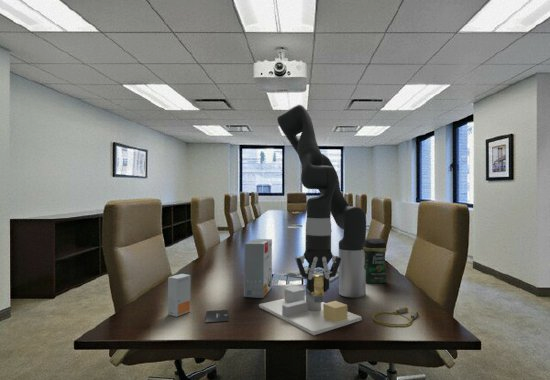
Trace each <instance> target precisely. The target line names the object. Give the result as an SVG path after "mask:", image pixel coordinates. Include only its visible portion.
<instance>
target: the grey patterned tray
mask: <svg viewBox="0 0 550 380" xmlns="http://www.w3.org/2000/svg"><path fill="white" fill-rule="evenodd" d="M303 267H304V270H305V273H307V271H308V266H303ZM328 270H329V271H330V269H328ZM315 274H320V275H323V271H322V268H319V267H318V268H315V271H314V273H313V275H315ZM284 277H288V278H289V277H291V278H295V279H296V278H297V279H303V280H307V278H303V277H302V276H301V274H300V271H299V268H297V269H295V270H293V271H289V272H287V273H284ZM337 279H339V270H337V273H336V276H335V277H331V278H330V279H329V284H330V283H331V282H333V281H335V280H337Z"/></svg>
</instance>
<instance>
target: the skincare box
mask: <svg viewBox="0 0 550 380" xmlns="http://www.w3.org/2000/svg"><path fill="white" fill-rule="evenodd" d="M191 280H192V277H191V274H186V273H179V274H175V275H173V276H169V277H167V315H169V316H173V317H179V316H181V315H185V314H186V313H190V312H191V289H192V288H191V287H192V286H191Z"/></svg>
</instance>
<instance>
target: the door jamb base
mask: <svg viewBox="0 0 550 380" xmlns="http://www.w3.org/2000/svg"><path fill="white" fill-rule="evenodd" d="M258 307H259V308H260V309H262V310H264V311H266V312H268V313H270V314H272V315H273V316H276V317H278V318H279V319H282V320H283V321H285V322H287V323H289V324H291V325H293V326H295V327H296V328H299V329H301V330H302V331H304V332H306V333H308V334H310V335H312V336H316V335H318V334H322V333H326V332H328V331H332V330H334V329H335V330H336V329H338V328H341V327H345V326H348V325H350V324H353V323H357V322H360V321H362V318H363V317H362V316H361V315H359V314H355V313H353V312H350V311H348V304H346V303H342V302H339V301H338V300H333V301H329V302H324V301H323V302H314V300H313V298H312V296H311V294H310V293H307V292H306V289H305V288H301V287H298V286H291V287H286V288H284V298H282V299H281V298H280V299H277V300H276V299H275V300H272V301H267V302H263V303H259V304H258Z"/></svg>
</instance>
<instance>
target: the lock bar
mask: <svg viewBox="0 0 550 380" xmlns="http://www.w3.org/2000/svg"><path fill="white" fill-rule="evenodd" d="M312 279H313V292H310V291H309V290H308V289H307V283H306V284H305V293H306V292H307V293H310V294H311V296H312V298H313V300H314V302H324V296H325V292H324V275H320V274H315V275H313V277H312Z"/></svg>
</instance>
